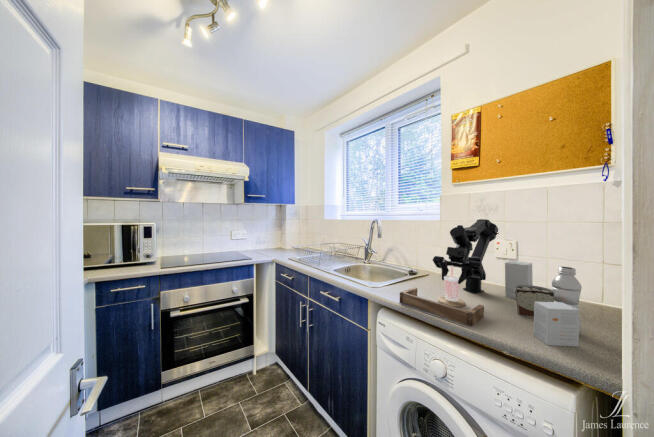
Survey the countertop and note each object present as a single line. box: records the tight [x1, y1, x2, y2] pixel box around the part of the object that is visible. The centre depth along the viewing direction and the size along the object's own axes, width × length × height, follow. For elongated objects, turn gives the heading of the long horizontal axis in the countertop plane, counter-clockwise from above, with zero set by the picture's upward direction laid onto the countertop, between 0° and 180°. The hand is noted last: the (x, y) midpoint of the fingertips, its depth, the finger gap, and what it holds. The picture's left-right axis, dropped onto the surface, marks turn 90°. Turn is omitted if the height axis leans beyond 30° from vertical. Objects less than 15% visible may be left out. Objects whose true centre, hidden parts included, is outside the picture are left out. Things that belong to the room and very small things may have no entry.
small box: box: [533, 302, 580, 348], centre depth 69 cm, size 8×6×10 cm
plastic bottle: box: [551, 266, 583, 333], centre depth 74 cm, size 6×7×20 cm
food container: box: [513, 284, 554, 318], centre depth 88 cm, size 12×6×10 cm, turn 71°
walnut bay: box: [399, 286, 485, 327], centre depth 92 cm, size 11×27×4 cm, turn 39°
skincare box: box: [504, 260, 534, 300], centre depth 104 cm, size 8×7×16 cm
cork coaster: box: [437, 296, 466, 308], centre depth 99 cm, size 10×10×1 cm
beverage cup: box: [444, 266, 460, 301], centre depth 99 cm, size 6×6×14 cm
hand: (450, 281), depth 98 cm, fingers closed on beverage cup, 6 cm apart
